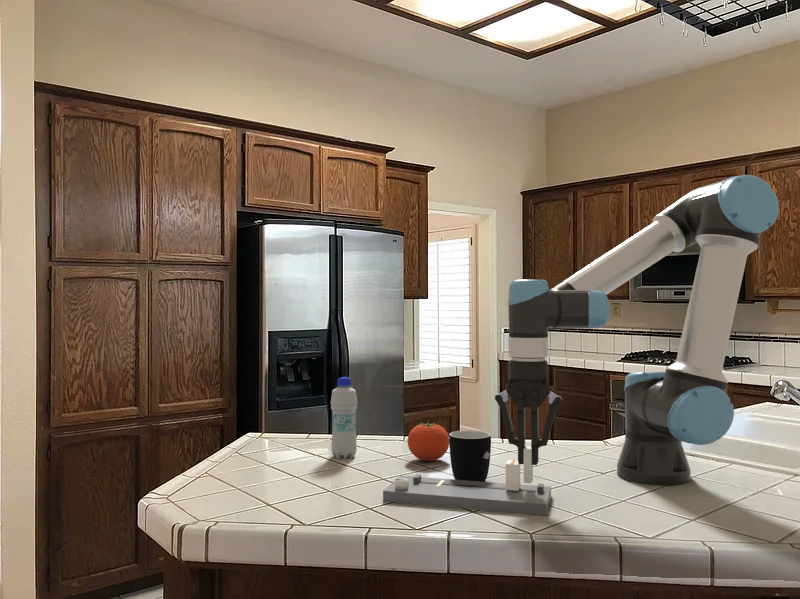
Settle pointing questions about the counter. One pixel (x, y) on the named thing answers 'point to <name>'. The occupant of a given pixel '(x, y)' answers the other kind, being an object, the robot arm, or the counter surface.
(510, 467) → the fader tab
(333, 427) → the bottle
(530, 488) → the console
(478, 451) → the mug
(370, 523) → the counter surface
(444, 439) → the tomato
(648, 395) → the robot arm
